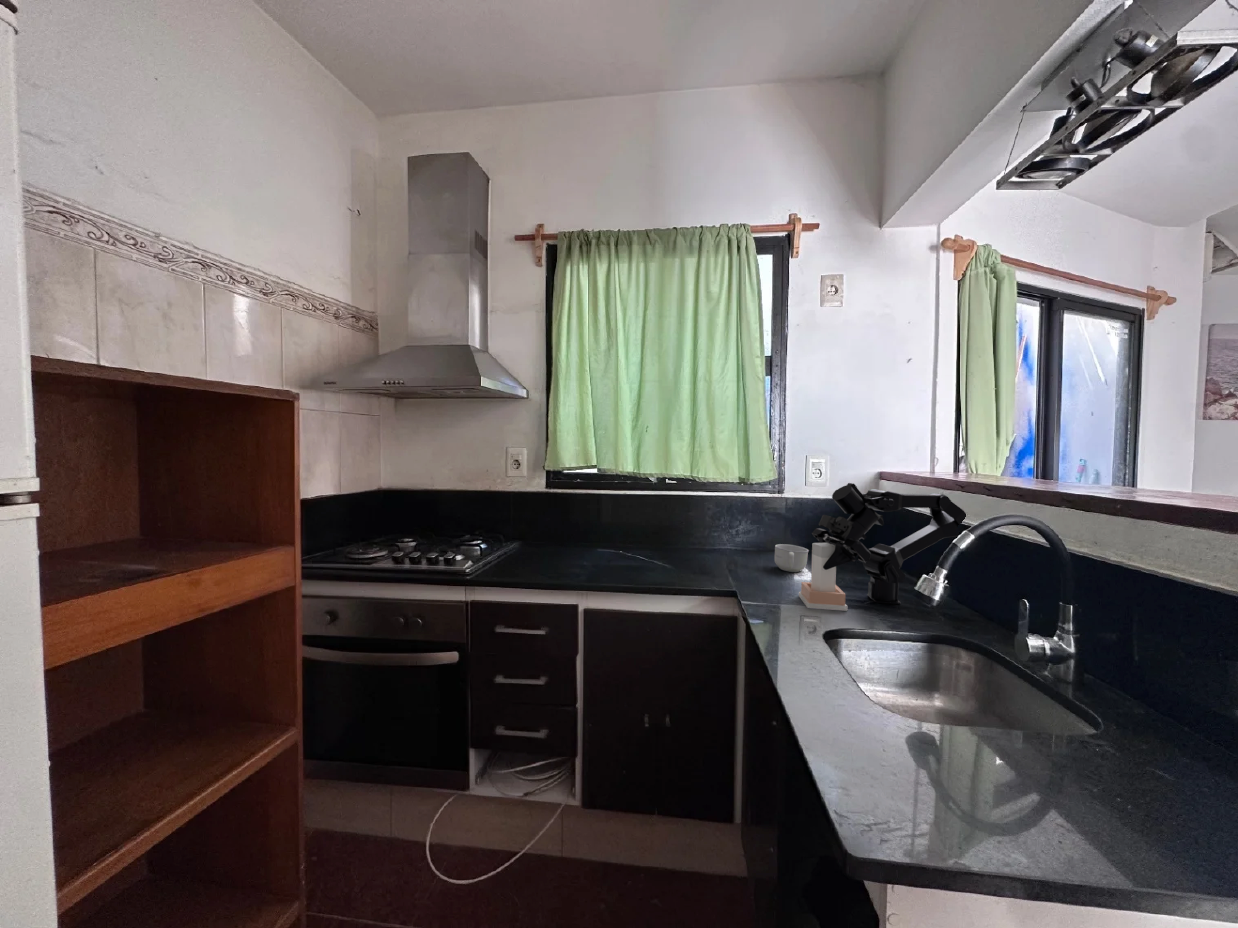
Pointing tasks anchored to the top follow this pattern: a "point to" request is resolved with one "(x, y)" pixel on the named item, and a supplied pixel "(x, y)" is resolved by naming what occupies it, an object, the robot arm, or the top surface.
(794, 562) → the teacup
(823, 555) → the plug
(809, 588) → the socket
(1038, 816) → the top surface
